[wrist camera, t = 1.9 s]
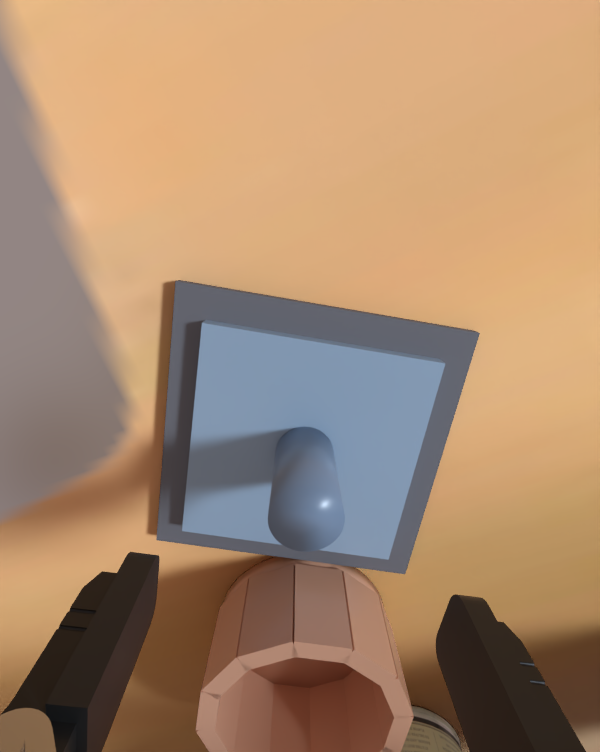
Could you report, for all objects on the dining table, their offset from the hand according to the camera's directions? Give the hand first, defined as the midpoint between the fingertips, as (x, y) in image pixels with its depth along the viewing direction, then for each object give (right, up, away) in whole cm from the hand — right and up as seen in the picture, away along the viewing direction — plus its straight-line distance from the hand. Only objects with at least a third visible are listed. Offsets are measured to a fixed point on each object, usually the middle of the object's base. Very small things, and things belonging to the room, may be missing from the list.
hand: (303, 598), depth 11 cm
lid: (0, +3, +9) cm, 10 cm away
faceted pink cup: (0, -9, +13) cm, 16 cm away
